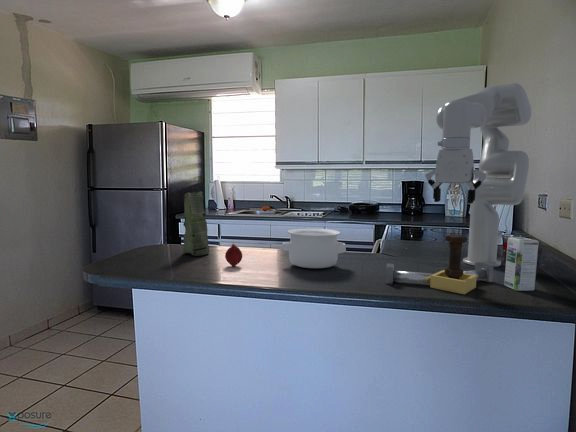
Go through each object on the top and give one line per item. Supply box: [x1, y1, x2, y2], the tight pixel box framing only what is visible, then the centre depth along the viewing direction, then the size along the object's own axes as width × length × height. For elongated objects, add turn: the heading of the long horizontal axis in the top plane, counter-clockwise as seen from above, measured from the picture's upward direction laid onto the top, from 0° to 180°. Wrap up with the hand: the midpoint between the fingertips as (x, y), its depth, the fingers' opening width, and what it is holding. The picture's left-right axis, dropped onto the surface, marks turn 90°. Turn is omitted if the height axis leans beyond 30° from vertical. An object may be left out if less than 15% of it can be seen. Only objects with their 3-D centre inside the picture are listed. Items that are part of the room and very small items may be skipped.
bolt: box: [444, 234, 468, 280], centre depth 113 cm, size 6×5×15 cm
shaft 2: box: [463, 262, 495, 283], centre depth 119 cm, size 12×5×5 cm, turn 118°
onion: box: [224, 242, 243, 267], centre depth 135 cm, size 6×6×8 cm
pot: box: [281, 227, 347, 269], centre depth 137 cm, size 22×17×12 cm
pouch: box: [182, 190, 210, 257], centre depth 155 cm, size 11×12×25 cm
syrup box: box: [503, 236, 539, 292], centre depth 113 cm, size 6×6×14 cm
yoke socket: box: [429, 269, 477, 295], centre depth 113 cm, size 10×10×4 cm
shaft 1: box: [385, 263, 434, 285], centre depth 117 cm, size 14×5×5 cm, turn 73°
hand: (453, 202), depth 118 cm, fingers open, 9 cm apart
